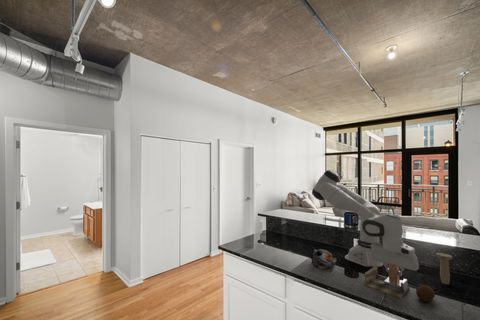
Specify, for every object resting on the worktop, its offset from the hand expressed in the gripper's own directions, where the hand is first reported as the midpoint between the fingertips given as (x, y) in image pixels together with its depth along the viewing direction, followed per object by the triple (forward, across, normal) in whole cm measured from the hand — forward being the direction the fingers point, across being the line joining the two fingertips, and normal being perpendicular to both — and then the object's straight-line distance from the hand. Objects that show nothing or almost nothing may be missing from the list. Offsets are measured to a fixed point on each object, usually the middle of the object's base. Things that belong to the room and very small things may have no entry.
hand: (394, 273), depth 115 cm
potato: (+8, +12, 0) cm, 15 cm away
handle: (+8, +15, +28) cm, 33 cm away
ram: (+6, +1, 0) cm, 7 cm away
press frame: (+8, -4, 0) cm, 9 cm away
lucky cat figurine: (+8, -38, -1) cm, 39 cm away
